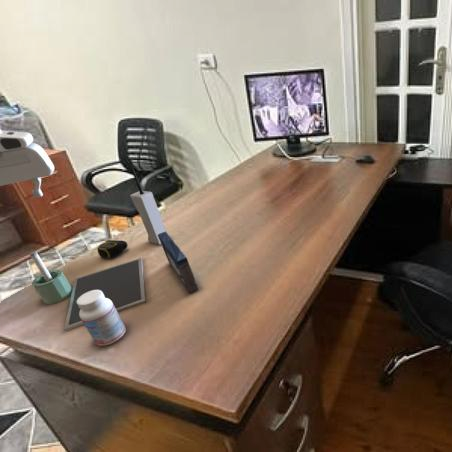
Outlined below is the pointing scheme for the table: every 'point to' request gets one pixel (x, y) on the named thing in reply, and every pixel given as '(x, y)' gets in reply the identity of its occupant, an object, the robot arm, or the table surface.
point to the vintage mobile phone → (148, 212)
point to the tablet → (109, 289)
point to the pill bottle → (100, 318)
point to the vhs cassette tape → (178, 262)
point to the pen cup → (52, 287)
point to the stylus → (40, 266)
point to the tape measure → (111, 248)
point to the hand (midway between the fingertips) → (15, 202)
